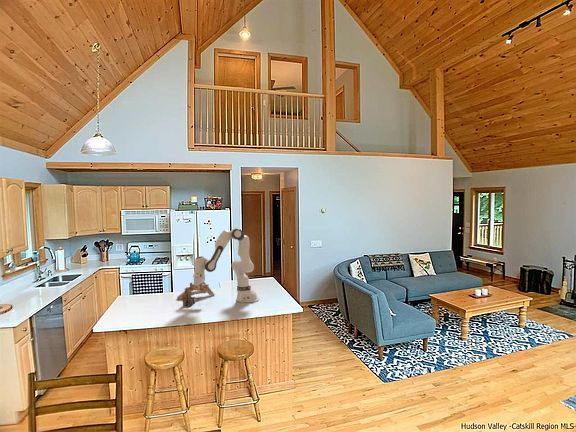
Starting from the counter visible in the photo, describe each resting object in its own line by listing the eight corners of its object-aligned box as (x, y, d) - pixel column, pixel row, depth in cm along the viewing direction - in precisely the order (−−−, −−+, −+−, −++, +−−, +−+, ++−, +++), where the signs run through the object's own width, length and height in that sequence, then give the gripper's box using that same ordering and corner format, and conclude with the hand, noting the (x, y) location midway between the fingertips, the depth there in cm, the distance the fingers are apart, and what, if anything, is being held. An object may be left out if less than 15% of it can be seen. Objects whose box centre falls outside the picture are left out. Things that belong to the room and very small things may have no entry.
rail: (208, 289, 315) (208, 282, 315) (207, 290, 312) (207, 283, 311) (191, 289, 317) (191, 282, 316) (190, 290, 313) (189, 283, 313)
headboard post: (196, 301, 323) (195, 285, 322) (190, 307, 307) (189, 290, 306) (189, 301, 323) (189, 285, 323) (183, 307, 307) (182, 290, 307)
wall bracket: (190, 312, 340) (214, 293, 347) (190, 314, 336) (214, 294, 343) (176, 296, 335) (201, 277, 342) (176, 298, 331) (201, 278, 338)
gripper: (200, 271, 324) (200, 285, 325) (192, 275, 304) (192, 290, 304) (206, 271, 324) (206, 285, 324) (199, 276, 303) (199, 290, 304)
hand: (199, 288), depth 314 cm, fingers closed on rail, 3 cm apart
